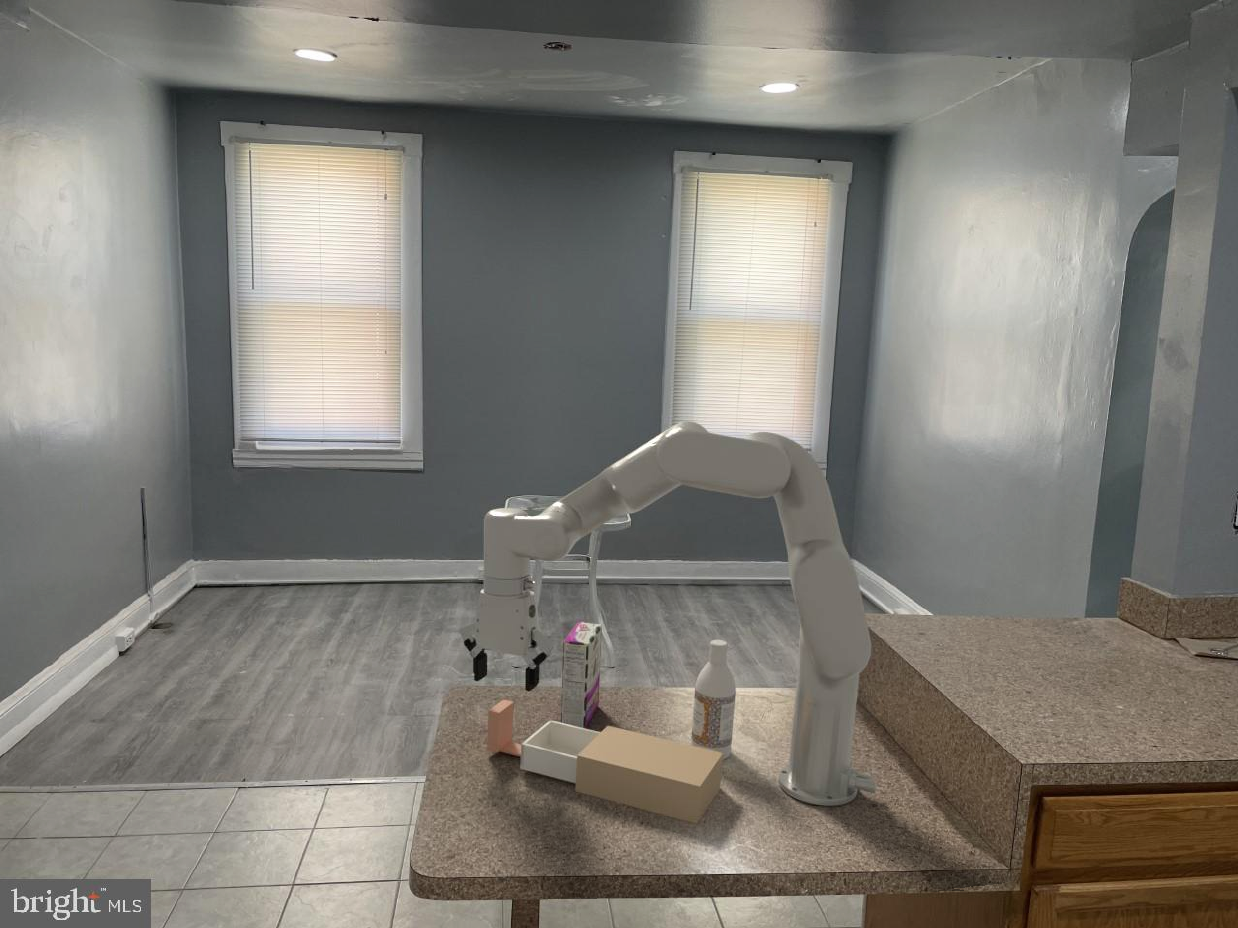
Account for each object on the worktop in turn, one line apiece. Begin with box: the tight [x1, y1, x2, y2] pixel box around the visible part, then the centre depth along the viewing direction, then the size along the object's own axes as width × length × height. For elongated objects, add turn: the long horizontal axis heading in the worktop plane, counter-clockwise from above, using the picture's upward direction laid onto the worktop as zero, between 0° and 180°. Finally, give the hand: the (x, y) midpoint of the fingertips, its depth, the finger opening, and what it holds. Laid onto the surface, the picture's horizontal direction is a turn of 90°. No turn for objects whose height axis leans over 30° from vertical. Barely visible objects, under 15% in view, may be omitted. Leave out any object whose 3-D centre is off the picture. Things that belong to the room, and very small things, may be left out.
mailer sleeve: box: [574, 725, 723, 825], centre depth 147 cm, size 20×12×6 cm, turn 67°
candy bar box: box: [560, 621, 603, 729], centre depth 171 cm, size 11×5×16 cm, turn 168°
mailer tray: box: [486, 699, 602, 784], centre depth 152 cm, size 27×10×7 cm, turn 67°
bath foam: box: [690, 639, 737, 761], centre depth 159 cm, size 7×7×20 cm
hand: (505, 683), depth 155 cm, fingers open, 9 cm apart
